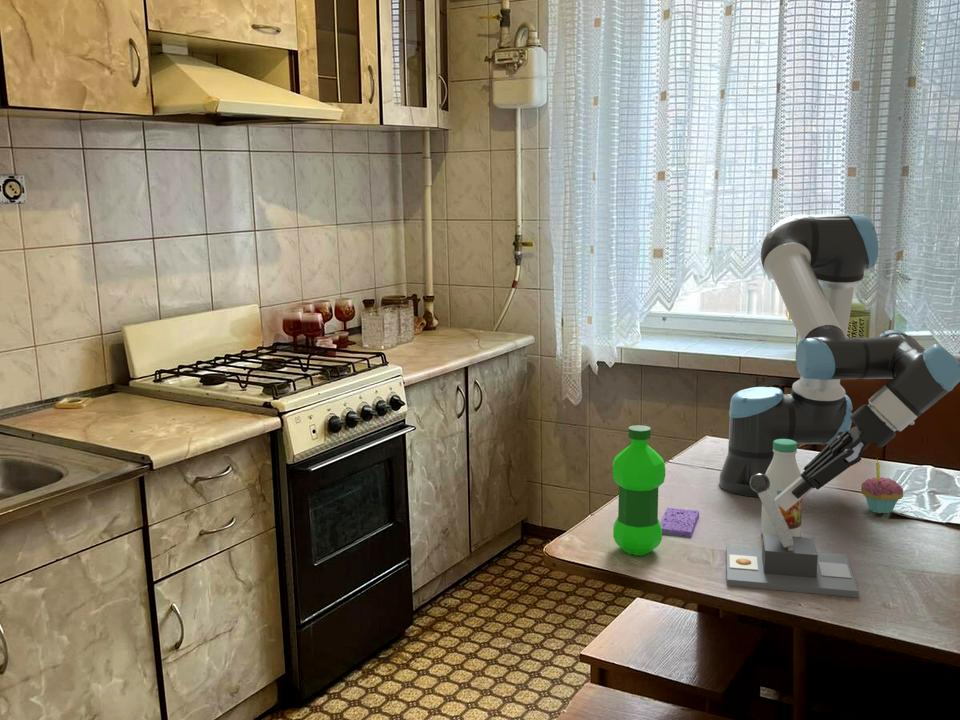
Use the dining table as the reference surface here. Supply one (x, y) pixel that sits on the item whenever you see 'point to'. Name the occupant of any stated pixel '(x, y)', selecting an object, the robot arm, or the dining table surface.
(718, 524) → the dining table surface
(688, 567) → the dining table surface
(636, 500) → the plastic bottle
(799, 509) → the milk bottle
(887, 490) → the cupcake
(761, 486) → the toggle lever
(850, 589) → the switch board
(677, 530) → the sponges
